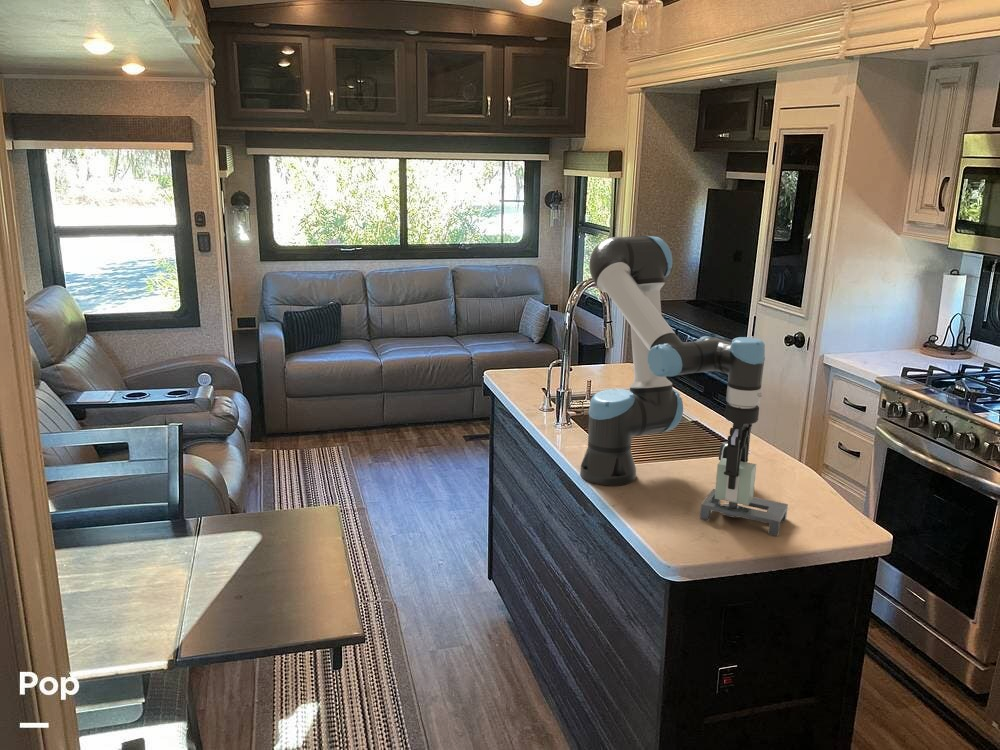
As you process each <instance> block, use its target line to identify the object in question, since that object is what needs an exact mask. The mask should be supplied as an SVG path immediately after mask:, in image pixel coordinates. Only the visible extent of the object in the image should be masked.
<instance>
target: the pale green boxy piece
mask: <svg viewBox="0 0 1000 750" xmlns="http://www.w3.org/2000/svg"><path fill="white" fill-rule="evenodd" d="M726 460H727V459H726V458H722V459H721V461H720V460H719V462H718V463H717V467H716V468H717V469H716V477H715V488H714V489H715V499H719V500H720V501H725V502H728V503H724V504H722V506H727V507H732V508H736V509H738V508H739V506H741V505H742V506H741V507H743V506H745V505H747V506H746V507H749V506H748V505H749V504H750V502H751V501H752V499H753V497H754V493H755V492H754V491H755V482H756V481H755V480H756V473H757V464H756V463H752V462H742V461H740V467H739V476H740V477H739V487H738V498H737V502H733V501H729V500H725V494H726V483H727V475H725V474H724V472H725V471H726ZM721 514H722V515H724V516H727V517H730V518H739V517H738V516H734V515H729V514H725V513H721Z"/></svg>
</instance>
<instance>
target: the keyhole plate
mask: <svg viewBox="0 0 1000 750" xmlns="http://www.w3.org/2000/svg"><path fill="white" fill-rule="evenodd" d="M722 505H723V504H722ZM722 505H721V500H719V499H715V488H712V490H711V492H709V494H708V495H707V496H706V497H705V499H704V500H703V501H702V502H701V504H700V512H699V514H700V516H699V519H700V520H704V521H707V522H708V521H709V520H710V519H711V515H712V514H711V513H712V512H716V513H720V514H722V513H725V514H729V515H734V516H738V517H737V518H743V519H747V520H752V521H756V522H761V523H765V524H769V526H768V533H767V534H768V535H769V536H773V537H778V536H779V534H780V527H781V522H782V523H784V522H786V520H787V515H788V507H789V504H788V503H784V502H779V501H773V500H770V499H764V498H761V497H755V496H753V499H752V501H751V502H750V504H749V505H748V506H747V505H744V506H742V507H741V505H739V508H738V509H736V508H732V507H727V506H722ZM750 507H751V508H750ZM754 508H755V509H754ZM756 508H757V509H756ZM763 510H765V511H763Z"/></svg>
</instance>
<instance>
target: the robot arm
mask: <svg viewBox="0 0 1000 750" xmlns="http://www.w3.org/2000/svg"><path fill="white" fill-rule="evenodd" d="M588 267H589V268H588V269H589V272H590V276H591V279H592V281H593V282H594V284H595V285H596V287H597V288H598V290H599V291H600V292H603V293H606V294H607V296H608V297H609V298H610V299H611V301H612V302H613V304H614V305H615V306H616V307H617V309H618V311H619V312H620V313H621V314H622V316H623V317H624V318H625V320H626V321H627V322H628V324H629V325H630V335H631V348H632V363H633V375H634V380H633V381H632V383H631V384H630V385H629V390H628V389H624V388H617V389H615V388H609V389H604V390H601V391H598V392H596V393H595V394H594V395H592V397H591V398H590V402H589V408H588V435H587V436H588V437H587V448H586V451H585V453H584V457H583V458H582V462H581V464H580V468H579V469H580V471H579V472H580V474H579V475H580V477H581V478H582V479H583V480H585V481H587V482H590V483H592V484H595V485H601V486H608V485H609V487H610V485H612V487H613V486H624V485H628V484H631V483H632V482H634V481H635V480H636V479H637V478H636V477H637V466H636V463H635V460H634V456H633V453H632V438H635V437H641V436H645V435H654V434H663V433H666V432H670V431H673V430H674V429H675V428H677V426H678V425H679V424H680V422H681V420H682V418H683V415H684V403H683V398H682V397H681V396H680V395H681V394H680V393H679V392H678V391H677V390H676V389H674V388H673V382H672V381H670V379H668V378H667V377H677V376H683V375H689V374H697V373H699V374H700V373H706V372H718V373H722V374H724V375H727V377H728V379H727V387H726V396H725V397H726V398H725V400H726V402H727V403H726V404H725V409H724V410H725V411H724V418H725V420H726V421H728V422H730V423H732V427H730V430H729V435H727V442H728V449H727V460H726V471H725V472H724V474H725V475H727V483H726V494H725V500H729V501H733V502H737V498H738V487H739V477H740V476H739V467H740V461H742V462H748V461H749V449H750V441H751V430H752V427H753V425H754V424H756V423H757V422H758V420H759V414H760V407H759V405H760V403H761V398H762V397H764V393H763V392H761V391H762V382H763V372H764V366H765V365H764V364H765V361H766V356H765V355H766V353H765V352H766V346H765V345H766V344H765V342H764V341H763V340H762V339H759V338H756V337H747V336H739V337H735V338H733V339H732V340H731V341H727V340H724V339H721V338H719V337H716V336H710V335H709V336H708V335H704V336H701V337H700V338H698V339H696V340H695V341H685V342H684V341H682V340H681V339H680V337H679V336H678V335H677V334H676V332H675V331H674V330H673V328H672V327H671V326H670V325H669V324H668V323H669V322H667V321H666V320H665V318H664V316H662V315H663V314H662V306H661V304H662V303H661V289H662V288H663V286H665V283H666V282H665V280H666V279H665V278H666V277H668V276H669V275H670V273H671V272H672V270H671V269H673V268H672V267H673V255H672V251H671V249H670V247H669V245H668V243H667V242H666V241H664V239H662V238H661V237H658V236H651V235H650V236H649V235H640V236H639V235H637V236H613V237H608V238H605V239H603V240H602V241H600V242H599V243H598V244H597V245H596V246H595V247H594V248H593V251H592V253H591V254H590V258H589V265H588ZM748 463H749V462H748ZM630 482H631V483H630Z"/></svg>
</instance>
